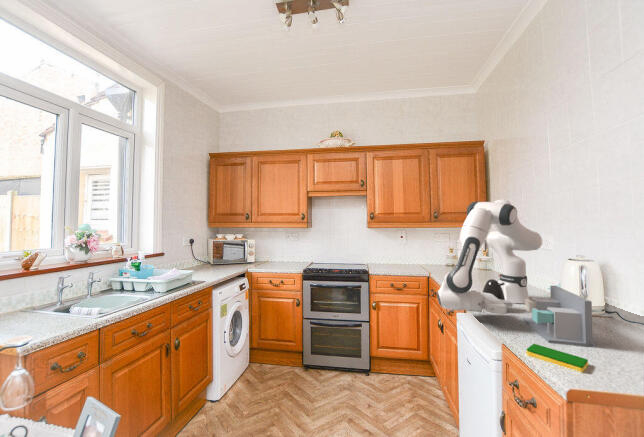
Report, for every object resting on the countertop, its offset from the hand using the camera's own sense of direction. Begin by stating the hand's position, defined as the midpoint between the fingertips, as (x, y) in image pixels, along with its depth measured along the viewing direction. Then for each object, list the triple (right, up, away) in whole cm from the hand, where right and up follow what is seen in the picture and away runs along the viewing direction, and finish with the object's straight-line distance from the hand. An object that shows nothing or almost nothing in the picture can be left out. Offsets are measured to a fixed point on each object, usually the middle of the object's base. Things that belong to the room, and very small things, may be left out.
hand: (511, 303), depth 119 cm
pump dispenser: (+4, -9, +18) cm, 20 cm away
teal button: (+3, -2, -15) cm, 16 cm away
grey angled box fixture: (+10, -8, -10) cm, 17 cm away
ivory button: (+10, -2, -3) cm, 10 cm away
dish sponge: (-8, -9, -32) cm, 34 cm away
